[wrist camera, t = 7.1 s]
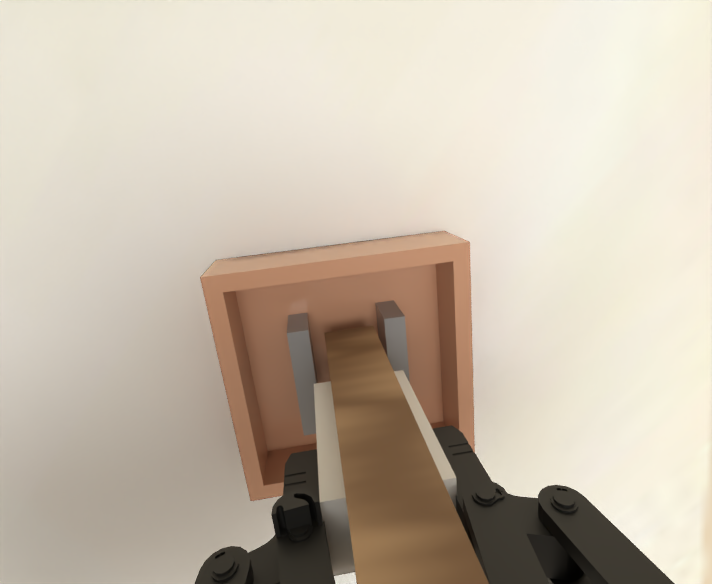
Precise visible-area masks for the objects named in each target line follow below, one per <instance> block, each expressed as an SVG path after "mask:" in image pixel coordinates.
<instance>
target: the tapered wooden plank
mask: <svg viewBox="0 0 712 584" xmlns="http://www.w3.org/2000/svg"><path fill="white" fill-rule="evenodd" d="M324 334H325V342H326V350H327V358H328V365H329V373H330V381H331V388H332V396H333V404H334V411H335V419H336V427H337V434H338V442H339V450H340V457H341V465H342V473H343V481H344V488H345V496H346V504H347V511H348V519H349V527H350V534H351V542H352V550H353V557H354V565H355V573H356V580H357V584H489V582H488V580H487V578H486V576H485V574H484V571H483V569H482V567H481V565H480V562H479V560H478V558H477V556H476V553H475V551H474V549H473V547H472V545H471V542H470V540H469V538H468V536H467V533H466V531H465V529H464V527H463V524H462V522H461V520H460V518H459V516H458V513H457V511H456V509H455V507H454V504H453V502H452V500H451V498H450V495H449V493H448V491H447V489H446V487H445V484H444V482H443V480H442V478H441V475H440V473H439V471H438V469H437V466H436V464H435V462H434V460H433V458H432V455H431V453H430V451H429V449H428V446H427V444H426V442H425V440H424V437H423V435H422V433H421V431H420V429H419V426H418V424H417V422H416V420H415V417H414V415H413V413H412V411H411V408H410V406H409V404H408V402H407V399H406V397H405V395H404V393H403V391H402V388H401V386H400V384H399V382H398V379H397V377H396V375H395V373H394V370H393V368H392V366H391V364H390V362H389V359H388V357H387V355H386V353H385V350H384V348H383V346H382V344H381V341H380V339H379V337H378V335H377V333H376V330H375V328H374V326H367V327H360V328H353V329H346V330H339V331H332V332H326V333H324Z"/></svg>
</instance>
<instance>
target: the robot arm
mask: <svg viewBox="0 0 712 584" xmlns="http://www.w3.org/2000/svg"><path fill="white" fill-rule="evenodd" d="M394 373H395V375H396V377H397V379H398V382H399V384H400V386H401V388H402V391H403V393H404V395H405V397H406V399H407V402H408V404H409V406H410V408H411V411H412V413H413V415H414V417H415V420H416V422H417V424H418V426H419V429H420V431H421V433H422V435H423V437H424V440H425V442H426V444H427V446H428V449H429V451H430V453H431V455H432V458H433V460H434V462H435V464H436V466H437V469H438V471H439V473H440V475H441V478H442V480H443V482H444V484H445V487H446V489H447V491H448V493H449V495H450V498H451V500H452V502H453V504H454V507H455V509H456V511H457V513H458V516H459V518H460V520H461V522H462V524H463V527H464V529H465V531H466V533H467V536H468V538H469V540H470V542H471V545H472V547H473V549H474V551H475V553H476V556H477V558H478V560H479V562H480V565H481V567H482V569H483V571H484V574H485V576H486V578H487V580H488V582H489V584H674V583H673V582H672V581H671V580H670V579H669V578H668V577H667V576H666V575H665V574H664V573H663V572H662V571H661V570H660V569H659V568H658V567H657V566H656V565H655V564H654V563H653V562H652V561H650V560H649V559H648V558H647V557H646V556H645V555H644V554H643V553H642V552H641V551H640V550H639V549H638V548H637V547H636V546H635V545H634V544H633V543H632V542H631V541H630V540H629V539H628V538H627V537H626V536H625V535H624V534H623V533H621V532H620V531H619V530H618V529H617V528H616V527H615V526H614V525H613V524H612V523H611V522H610V521H609V520H608V519H607V518H606V517H605V516H604V515H603V514H602V513H601V512H600V511H599V510H598V509H597V508H596V507H595V506H593V505H592V504H591V503H590V502H589V501H588V500H587V499H586V498H585V497H584V496H583V495H581V494H580V493H579V492H577V491H576V490H574V489H571V488H569V487H566V486H560V485H552V486H547V487H545V488H543V489H542V490H541V491H540V493H539V495H538V498H528V497H519V496H513V495H511V494H508V493H507V492H506V491H505V490H504V488H503V487H501V486H500V485H498V484H497V483H494V482H492V481H491V479H490V477H489V476H488V474H487V473H486V471H485V469H484V468H483V466H482V464H481V463H480V461H479V459H478V458H477V456H476V454H475V453H474V452H473V449H472V448H471V446H470V444H469V443H468V441H467V439H466V438H465V436H464V434H463V433H462V432H461V431H459V430H458V429H457V428H455V427H454V426H452V425H451V426H445V427H439V428H433V429H432V427H431V425H430V423H429V421H428V419H427V417H426V415H425V413H424V411H423V409H422V407H421V405H420V403H419V401H418V399H417V397H416V395H415V393H414V391H413V389H412V387H411V385H410V383H409V381H408V379H407V377H406V375H405V373H404V371H403V370H400V371H394ZM314 400H315V419H316V439H317V449H315V450H309V451H303V452H297V453H291V455H290V456H289V458H288V460H287V462H286V463H285V470H284V487H283V496H282V497H281V498H279V499H278V500H277V502H276V503H275V505H274V506H273V509H272V519H273V524H274V529H275V536H274V537H273V538H272V539H271V540H270V541H269V542H267V543H266V544H264V545H263V546H261V547H259V548H257V549H255V550H253V551H251V552H249V553H247V551H246V550H244V549H243V548H241V547H235V546H230V547H226V548H222V549H220V550H219V551H217V552H215V553H213V554H212V555H211V556H210V557H209V558H208V559H207V560H206V561H205V562H204V564H203V566H202V567H201V569H200V571H199V574H198V576H197V579H196V582H195V584H335V580H334V576H336V575H342V574H347V573H352V572H355V565H354V557H353V550H352V542H351V534H350V527H349V519H348V511H347V504H346V496H345V488H344V481H343V473H342V465H341V457H340V450H339V442H338V434H337V427H336V419H335V411H334V404H333V396H332V388H331V381H329V382H323V383H316V384H314Z"/></svg>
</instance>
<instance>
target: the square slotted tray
mask: <svg viewBox="0 0 712 584" xmlns="http://www.w3.org/2000/svg"><path fill="white" fill-rule="evenodd" d="M200 279H201V283H202V288H203V292H204V297H205V301H206V306H207V310H208V314H209V319H210V323H211V328H212V332H213V337H214V341H215V345H216V350H217V354H218V359H219V363H220V368H221V372H222V376H223V381H224V385H225V390H226V394H227V399H228V403H229V407H230V412H231V416H232V421H233V425H234V430H235V434H236V438H237V443H238V447H239V452H240V456H241V460H242V465H243V469H244V474H245V478H246V483H247V487H248V491H249V496H250V500H251V501H254V500H260V499H266V498H271V497H277V496H282V495H283V487H284V470H285V463H286V462H287V460H288V458H289V456H290V455H291V453H297V452H303V451H309V450H315V449H317V439H316V419H315V400H314V384H316V383H323V382H329V381H330V373H329V365H328V358H327V350H326V342H325V334H324V333H326V332H332V331H339V330H346V329H353V328H360V327H367V326H374V328H375V330H376V333H377V335H378V337H379V339H380V341H381V344H382V346H383V348H384V350H385V353H386V355H387V357H388V359H389V362H390V364H391V366H392V368H393V370H394V371H400V370H403V371H404V373H405V375H406V377H407V379H408V381H409V383H410V385H411V387H412V389H413V391H414V393H415V395H416V397H417V399H418V401H419V403H420V405H421V407H422V409H423V411H424V413H425V415H426V417H427V419H428V421H429V423H430V425H431V427H432V429H433V428H439V427H445V426H451V425H452V426H454V427H455V428H457V429H458V430H459V431H461V432H462V433H463V434H464V436H465V438H466V439H467V441H468V443H469V444H470V446H471V448H472V449H473V452H474V453H475V449H474V406H473V363H472V320H471V277H470V242H469V241H466V240H464V239H462V238H460V237H457V236H455V235H453V234H450V233H448V232H446V231H439V232H431V233H424V234H416V235H408V236H400V237H392V238H385V239H377V240H369V241H361V242H353V243H346V244H338V245H330V246H322V247H314V248H307V249H299V250H291V251H283V252H275V253H267V254H260V255H252V256H244V257H236V258H228V259H221V260H216V261H215V262H214V263H213V264H212V265H211V266H210V267H209V268H208V269H207V270H206V272H205V273H204V274H203V275H202V276H201V277H200Z"/></svg>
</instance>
